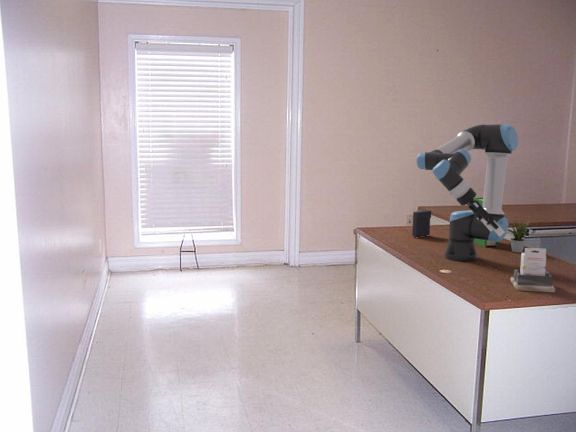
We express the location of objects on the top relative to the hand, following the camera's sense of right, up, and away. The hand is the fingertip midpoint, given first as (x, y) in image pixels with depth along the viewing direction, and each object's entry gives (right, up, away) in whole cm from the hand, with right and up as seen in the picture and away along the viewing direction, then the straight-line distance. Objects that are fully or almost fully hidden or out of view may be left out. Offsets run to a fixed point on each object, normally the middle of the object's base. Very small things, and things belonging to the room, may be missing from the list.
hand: (497, 232), depth 220 cm
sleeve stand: (+14, -22, 0) cm, 26 cm away
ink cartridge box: (+14, -21, 0) cm, 25 cm away
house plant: (+33, -12, +59) cm, 69 cm away
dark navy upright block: (-8, -6, +94) cm, 95 cm away
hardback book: (+22, -9, +77) cm, 80 cm away
